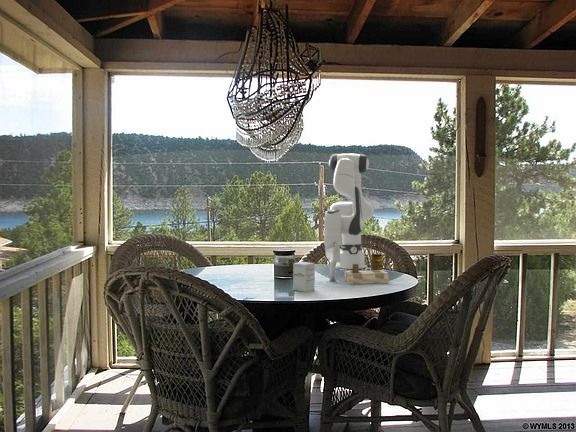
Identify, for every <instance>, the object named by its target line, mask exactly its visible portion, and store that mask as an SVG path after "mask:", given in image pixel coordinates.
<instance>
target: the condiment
mask: <svg viewBox="0 0 576 432" xmlns="http://www.w3.org/2000/svg"><path fill="white" fill-rule="evenodd" d="M376 270H383V255H382V254H381V253H372V254H371V258H370V271H376Z"/></svg>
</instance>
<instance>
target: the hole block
mask: <svg viewBox="0 0 576 432" xmlns="http://www.w3.org/2000/svg"><path fill="white" fill-rule="evenodd" d="M344 282H345V283H347V284H349V285H361V284H364V285H365V284H389V272H388V271H385V270H383V269H382V270H376V271H371V270H359V273H353V270H345V271H344Z"/></svg>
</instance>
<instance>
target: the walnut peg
mask: <svg viewBox="0 0 576 432" xmlns="http://www.w3.org/2000/svg"><path fill="white" fill-rule="evenodd" d="M352 271H353V273H359V271H360V270H359V264H353V269H352Z"/></svg>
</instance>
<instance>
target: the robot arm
mask: <svg viewBox="0 0 576 432" xmlns="http://www.w3.org/2000/svg"><path fill="white" fill-rule="evenodd" d="M328 166H329V170H330V171H331V172H333V181H332V184H333V188H334V191H336V192H337V194H339V195H341V196H344V197H346V198H348V199H350V200H351V201H338V202H333V203H332V204H331V205H330V208H329V209H328V210H326V211H325V214H324V221H323V225H324V226H323V227H324V234H323V245H324V250H325V257H326V258H327V259H328V260H329V263H330V260H331V261H332V270H336V271H337V269H342V270H343V269H345V270H353V264H359V269H364V268H365V269H366V268H368V265H366V263H365V253H364V251H362V249H363V248H362V247H363V245H362V232H363V229H364V222H363V221H367V220H371V219H372V217H373V216H374V213H375V208H374V207H373V204H371V203H370V201H368V200H367V199H366V198H365V196H364V194H363V192H362V191H363V190H362V174H365V173H366V172H367V171H368V169H369V167H370V160H369V157H368V156H367V155H366V154H363V153H360V154H359V153H353V152H351V153H350V152H349V153H333V154H332V155H330V157H329V161H328Z"/></svg>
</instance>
